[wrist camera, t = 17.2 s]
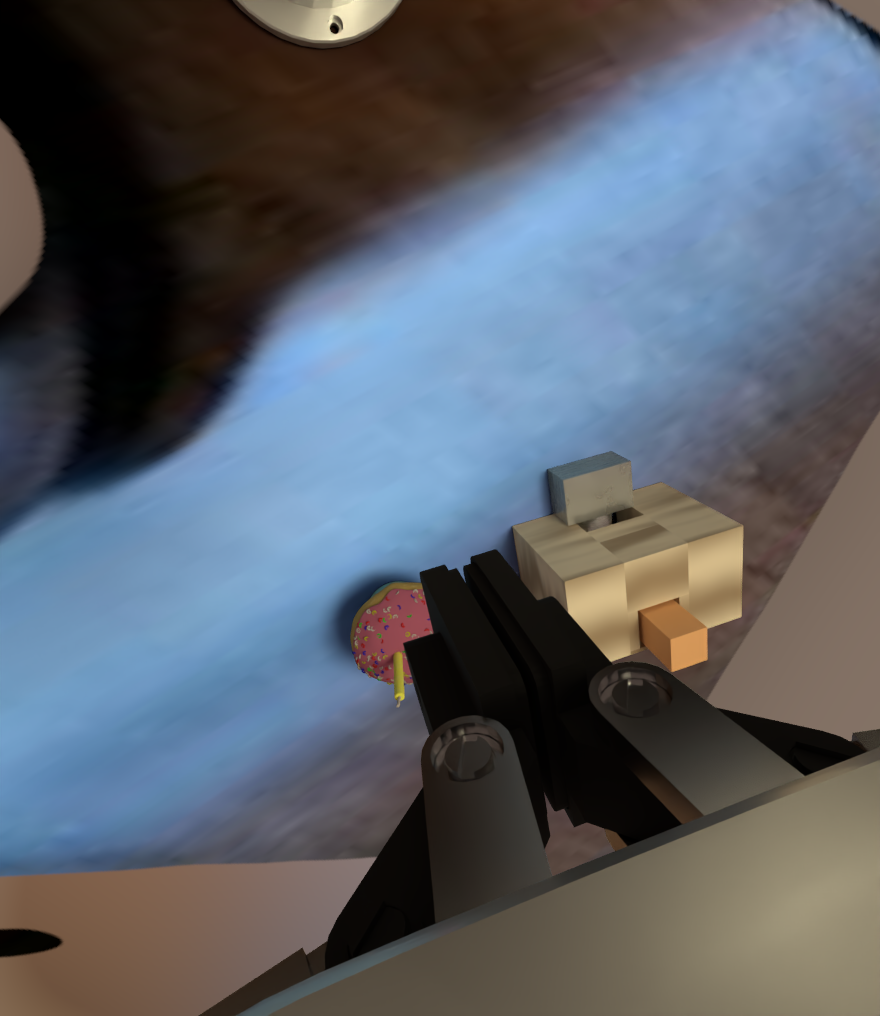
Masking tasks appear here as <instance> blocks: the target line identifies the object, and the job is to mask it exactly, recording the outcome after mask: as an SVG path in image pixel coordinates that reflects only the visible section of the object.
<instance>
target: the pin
mask: <svg viewBox="0 0 880 1016" xmlns="http://www.w3.org/2000/svg"><path fill="white" fill-rule="evenodd" d="M547 471H548V479H549V487H550V495H551V502H552V510H553V513H554V514H555V515H556V516H557V517H558V518H560V519H561V520H562V521H563V522H564V523H565V524H567V525H568V526H570V525H574V524H577V525H578V526H580V527H581V528H582V529H583V530H585V531H586V532H589V531H592V530H596V529H599V528H602V527H606V526H609V525H612V513H614V512H617V511H620V510H624V509H627V508H630V507H634V505H633V489H632V473H631V461H630V460H628V459H626V458H624V457H622V456H620V455H618V454H616V453H614V452H612V451H610V452H606V453H603V454H599V455H595V456H592V457H588V458H585V459H581V460H578V461H574V462H571V463H567V464H564V465H560V466H556V467H553V468H549V469H547Z"/></svg>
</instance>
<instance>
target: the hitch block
mask: <svg viewBox="0 0 880 1016" xmlns="http://www.w3.org/2000/svg"><path fill="white" fill-rule="evenodd" d="M633 505H634V507H630V508H627V509H624V510H620V511H617V512H616V516H617V523H615V524H612V525H609V526H606V527H602V528H599V529H596V530H592V531H589V532H586V531H585V530H583V529H582V528H581V527H580V526H578V525H577V524H574V525H570V526H568V525H567V524H565V523H564V522H563V521H562V520H561V519H560V518H558V517H557V516H556V515H555V514H552V515H548V516H545V517H542V518H538V519H535V520H531V521H528V522H525V523H521V524H518V525H514V526H512V528H513V534H514V540H515V547H516V553H517V559H518V565H519V572H520V578H521V581H522V582H523V583H524V584H525V586H526V587H527V588H528V589H529V591H530V592H531V593H532V594H533V596H534V597H535V598H536V599H537V600H539V599H543V598H546V597H549V596H553V597H554V598H556V599H557V600H558V601H559V603H560V604H561V605H562V606H563V607H564V608H565V609H566V611H567V612H568V613H569V614H570V615H571V616H572V618H573V619H574V620H575V621H576V622H577V623H578V625H579V626H580V627H581V628H582V629H583V630H584V632H585V633H586V634H587V635H588V636H589V637H590V638H591V640H592V641H593V642H594V643H595V644H596V645H597V647H598V648H599V649H600V650H601V651H602V652H603V654H604V655H605V656H606V657H607V658H608V659H609V661H610V662H611V661H614V660H617V659H620V658H623V657H626V656H629V655H632V654H634V653H637V652H640V651H643V650H646V649H648V648H647V647H646V646H645V645H644V644H643V643H642V642H641V641H640V638H639V622H638V611H639V610H642V609H645V608H648V607H651V606H654V605H657V604H660V603H663V602H666V601H669V600H672V599H673V600H674V601H676V602H677V603H678V604H679V605H681V606H682V607H683V608H684V609H685V610H687V611H688V612H689V613H690V614H692V615H693V616H694V617H695V618H696V619H698V620H699V621H700V622H701V623H703V624H704V625H705V626H706V627H707V628H710V627H713V626H716V625H719V624H722V623H725V622H728V621H731V620H734V619H737V618H740V617H741V611H742V562H743V525H741V524H739V523H738V522H736V521H734V520H732V519H730V518H728V517H726V516H724V515H722V514H721V513H719V512H717V511H715V510H713V509H711V508H709V507H707V506H706V505H704V504H702V503H700V502H698V501H696V500H694V499H692V498H691V497H689V496H687V495H685V494H683V493H681V492H679V491H677V490H675V489H674V488H672V487H670V486H668V485H666V484H664V483H662V482H660V483H657V484H653V485H650V486H647V487H643V488H640V489H636V490H633Z"/></svg>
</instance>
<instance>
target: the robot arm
mask: <svg viewBox="0 0 880 1016" xmlns="http://www.w3.org/2000/svg"><path fill="white" fill-rule="evenodd" d="M401 1H402V0H233V2H234V3H235V4H236V5H237V6H238V8H239V9H240V10H242V11H243V12H244V13H245V14H246V15H247V16H249V17H250V18H251V19H252V20H253V21H254V22H256V23H257V24H258V25H259V26H261V27H262V28H264V29H266V30H267V31H269V32H271V33H272V34H274V35H276V36H277V37H279V38H281V39H284V40H287V41H290V42H292V43H295V44H298V45H301V46H307V47H314V48H321V49H324V48H334V47H343V46H346V45H349V44H352V43H355V42H358V41H361V40H363V39H364V38H366V37H367V36H369V35H370V34H372V33H374V32H375V31H377V30H378V29H379V28H380V27H381V26H382V25H383V24H384V23H385V22H386V21H387V20H388V19H389V18H390V17H391V16H392V15H393V14H394V12H395V11H396V9H397V8H398V6H399V5H400V3H401ZM331 26H335V27H337V28H338V31H339V32H338V34H333V33H332V32H331V31H330V27H331ZM463 570H464V576H465V581H466V583H465V581H464V579H463V578H462V576H461V575H460V573H459V571H458V570H457V568H455V569H452V570H448V569H447V567H446V566H445V565H442V566H438V567H435V568H432V569H428V570H425V571H422V572H420V579H421V583H422V587H423V592H424V596H425V600H426V604H427V608H428V612H429V617H430V621H431V625H432V629H433V634H429V635H426V636H423V637H420V638H417V639H414V640H411V641H407V642H404V643H403V646H404V650H405V654H406V658H407V661H408V665H409V669H410V673H411V676H412V680H413V683H414V687H415V690H416V694H417V697H418V700H419V704H420V707H421V710H422V713H423V716H424V720H425V723H426V726H427V729H428V732H429V735H430V736H429V737H428V738H427V740H426V742H425V744H424V746H423V749H422V755H421V768H422V779H423V788H422V790H421V791H420V793H419V794H418V796H417V797H416V799H415V800H414V802H413V803H412V805H411V806H410V808H409V809H408V811H407V813H406V814H405V816H404V817H403V819H402V820H401V822H400V823H399V825H398V826H397V828H396V829H395V831H394V832H393V834H392V835H391V837H390V839H389V840H388V842H387V843H386V845H385V846H384V848H383V849H382V851H381V852H380V854H379V855H378V857H377V858H376V860H375V861H374V863H373V865H372V866H371V868H370V869H369V871H368V872H367V874H366V875H365V877H364V878H363V880H362V881H361V883H360V884H359V886H358V888H357V889H356V891H355V892H354V894H353V895H352V897H351V898H350V900H349V901H348V903H347V904H346V906H345V907H344V909H343V910H342V912H341V914H340V915H339V917H338V918H337V920H336V922H335V924H334V926H333V928H332V930H331V932H330V934H329V937H328V941H327V942H325V943H324V944H322V945H321V946H319V947H318V948H316V949H315V950H313V951H312V952H310V953H309V954H307V955H306V954H305V952H304V950H303V948H301V949H300V950H298V951H297V952H295V953H294V954H292V955H291V956H289V957H287V958H286V959H284V960H283V961H281V962H280V963H278V964H277V965H275V966H274V967H272V968H271V969H269V970H268V971H266V972H265V973H263V974H261V975H260V976H259V977H257V978H255V979H254V980H252V981H251V982H249V983H248V984H246V985H245V986H243V987H242V988H240V989H239V990H237V991H235V992H234V993H232V994H231V995H229V996H228V997H226V998H225V999H223V1000H222V1001H220V1002H219V1003H217V1004H216V1005H214V1006H213V1007H211V1008H209V1009H208V1010H206V1011H205V1012H203V1013H202V1014H200V1015H199V1016H880V729H877V730H869V731H862V732H855V733H853V735H852V741H848V740H846V739H844V738H842V737H840V736H837V735H834V734H830V733H827V732H824V731H820V730H815V729H811V728H807V727H802V726H797V725H793V724H788V723H783V722H779V721H775V720H770V719H765V718H760V717H756V716H751V715H747V714H743V713H738V712H733V711H729V710H724V709H720V708H715V707H714V706H712V705H711V704H710V703H709V702H707V701H706V700H705V699H703V698H702V697H701V696H700V695H698V694H697V693H696V692H694V691H693V690H692V689H690V688H689V687H688V686H686V685H685V684H684V683H683V682H681V681H680V680H679V679H677V678H676V677H675V676H673V675H672V674H671V673H669V672H667V671H666V670H664V669H662V668H660V667H658V666H655V665H652V664H648V663H644V662H633V661H630V662H621V663H616V664H612V663H611V662H610V661H609V659H608V658H607V657H606V656H605V655H604V654H603V652H602V651H601V650H600V649H599V648H598V647H597V645H596V644H595V643H594V642H593V641H592V640H591V638H590V637H589V636H588V635H587V634H586V633H585V632H584V630H583V629H582V628H581V627H580V626H579V625H578V623H577V622H576V621H575V620H574V619H573V618H572V616H571V615H570V614H569V613H568V612H567V611H566V609H565V608H564V607H563V606H562V605H561V604H560V603H559V601H558V600H557V599H556V598H554V597H553V596H549V597H546V598H543V599H539V600H537V599H536V598H535V597H534V596H533V594H532V593H531V592H530V591H529V589H528V588H527V587H526V586H525V584H524V583H523V582H522V581H521V579H520V578H519V577H518V575H517V574H516V573H515V572H514V570H513V569H512V568H511V567H510V565H509V564H508V563H507V562H506V560H505V559H504V558H503V557H502V555H501V554H500V553H499V552H498V551H497V550H492V551H488V552H485V553H482V554H478V555H475V556H472V557H471V564H469V565H465V566H464V567H463ZM544 793H545V794H546V796H547V798H548V800H549V802H550V804H551V806H552V808H553V809H554V811H559V810H562V809H565V811H566V813H567V815H568V817H569V819H570V820H571V822H572V824H573V826H574V827H576V826H579V825H581V824H584V823H586V822H587V823H590V824H593V825H596V826H599V827H602V828H604V829H605V834H606V837H607V839H608V841H609V843H610V844H611V846H612V848H613V849H614V850H615V852H612V853H610V854H607V855H605V856H602V857H600V858H597V859H595V860H592V861H590V862H587V863H585V864H582V865H580V866H577V867H575V868H572V869H570V870H567V871H565V872H562V873H560V874H557V875H555V876H552V874H551V870H550V867H549V863H548V860H547V856H546V853H545V847H546V845H547V842H548V840H549V837H550V831H549V826H548V820H547V808H546V802H545V796H544Z"/></svg>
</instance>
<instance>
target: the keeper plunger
mask: <svg viewBox="0 0 880 1016" xmlns="http://www.w3.org/2000/svg"><path fill="white" fill-rule="evenodd" d="M638 622H639V638H640V641H641V642H642V643H643V644H644V645H645V646H646V647H647V648H648V649H649V650H650V651H651V652H652V653H653V654H654V655H655V656H656V657H657V658H658V659H659V660H660V661H661V662H662V663H663V664H664V665H665V666H666V667H667V668H668V669H669V670H670V671H671V672H674V671H677V670H679V669H682V668H685V667H688V666H691V665H694V664H696V663H699V662H702V661H705V660H707V627H706V626H705V625H704V624H703V623H701V622H700V621H699V620H698V619H696V618H695V617H694V616H693V615H692V614H690V613H689V612H688V611H687V610H685V609H684V608H683V607H682V606H681V605H679V604H678V603H677V602H676V601H674V600H673V599H672V600H669V601H666V602H663V603H660V604H657V605H654V606H651V607H648V608H645V609H642V610H639V611H638Z"/></svg>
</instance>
